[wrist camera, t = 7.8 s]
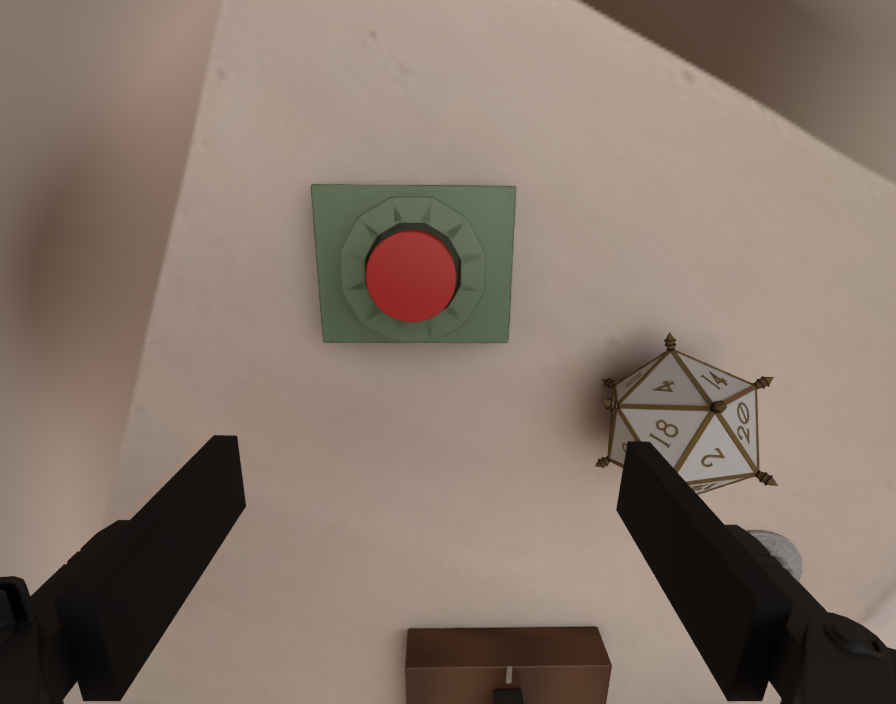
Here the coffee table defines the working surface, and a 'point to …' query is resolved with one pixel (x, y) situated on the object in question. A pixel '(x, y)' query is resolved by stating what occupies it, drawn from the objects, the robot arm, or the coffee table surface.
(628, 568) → the coffee table surface
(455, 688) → the block
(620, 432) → the game die
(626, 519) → the robot arm
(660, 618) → the coffee table surface
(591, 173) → the coffee table surface
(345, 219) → the button block
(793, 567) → the miniature
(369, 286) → the button
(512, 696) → the dark grey block
